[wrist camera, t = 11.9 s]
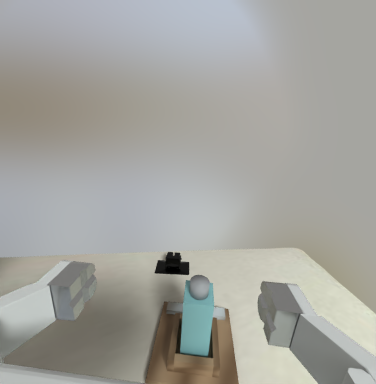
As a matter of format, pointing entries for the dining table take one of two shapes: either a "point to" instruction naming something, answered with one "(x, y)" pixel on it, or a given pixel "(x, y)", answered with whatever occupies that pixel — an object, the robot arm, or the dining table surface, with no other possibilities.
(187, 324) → the teal bottle
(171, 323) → the jig
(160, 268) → the black block on base
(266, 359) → the dining table surface
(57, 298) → the robot arm
